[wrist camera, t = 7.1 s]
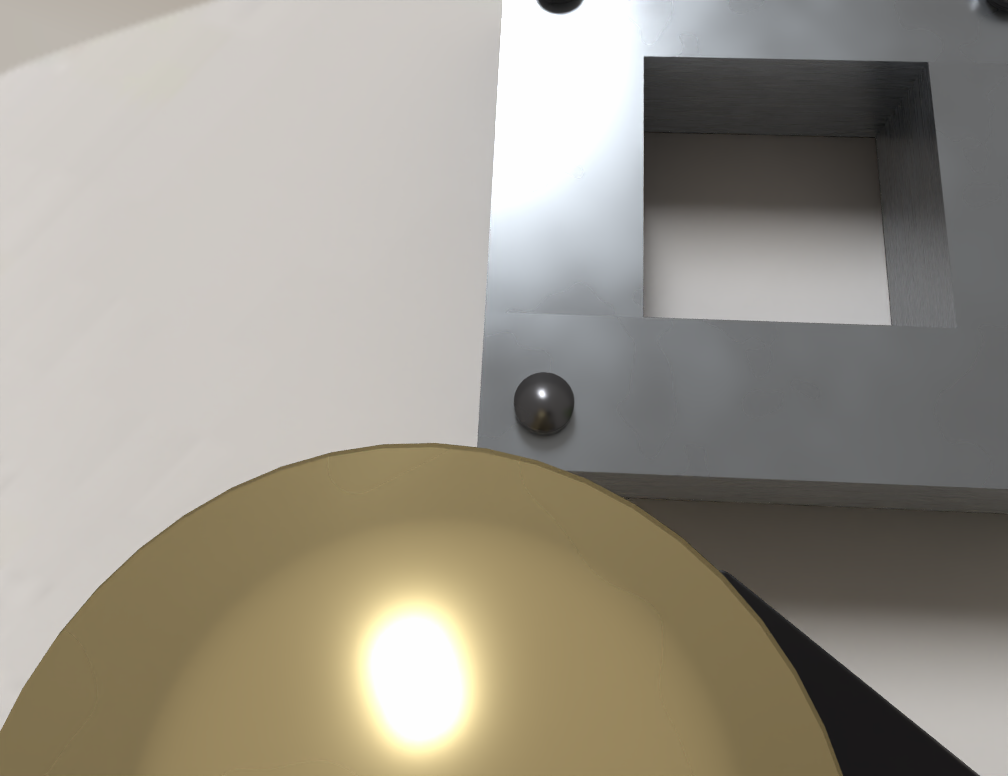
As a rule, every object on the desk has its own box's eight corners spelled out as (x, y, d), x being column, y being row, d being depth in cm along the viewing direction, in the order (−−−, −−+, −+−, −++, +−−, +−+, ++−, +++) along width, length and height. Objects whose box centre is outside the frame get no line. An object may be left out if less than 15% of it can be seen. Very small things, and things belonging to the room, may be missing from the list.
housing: (1055, 515, 19) (1166, 491, 16) (484, 491, 20) (474, 463, 16) (990, 33, 23) (1068, -68, 19) (509, 24, 23) (506, -77, 20)
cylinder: (635, 886, 14) (926, 1592, 4) (338, 868, 14) (-188, 1481, 4) (635, 579, 16) (845, 456, 5) (365, 567, 16) (38, 423, 5)
